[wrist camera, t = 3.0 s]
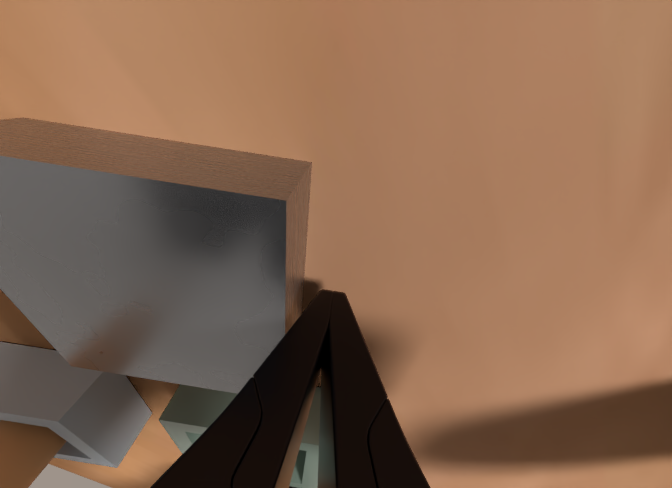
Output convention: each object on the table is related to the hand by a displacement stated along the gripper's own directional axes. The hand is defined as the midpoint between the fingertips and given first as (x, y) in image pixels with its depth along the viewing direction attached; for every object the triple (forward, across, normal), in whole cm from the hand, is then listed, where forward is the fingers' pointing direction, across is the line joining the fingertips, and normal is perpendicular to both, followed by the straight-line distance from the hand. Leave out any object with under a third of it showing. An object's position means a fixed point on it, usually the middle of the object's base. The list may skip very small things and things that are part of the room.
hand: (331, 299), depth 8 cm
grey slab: (+2, +5, 0) cm, 5 cm away
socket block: (+1, +15, +12) cm, 19 cm away
